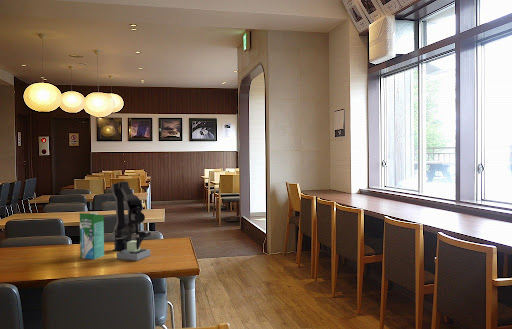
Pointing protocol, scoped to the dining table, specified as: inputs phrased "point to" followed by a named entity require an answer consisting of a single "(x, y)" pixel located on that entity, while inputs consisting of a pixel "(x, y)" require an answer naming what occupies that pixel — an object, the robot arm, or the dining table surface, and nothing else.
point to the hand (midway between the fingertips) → (133, 248)
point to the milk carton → (91, 235)
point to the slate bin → (133, 255)
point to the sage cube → (132, 246)
